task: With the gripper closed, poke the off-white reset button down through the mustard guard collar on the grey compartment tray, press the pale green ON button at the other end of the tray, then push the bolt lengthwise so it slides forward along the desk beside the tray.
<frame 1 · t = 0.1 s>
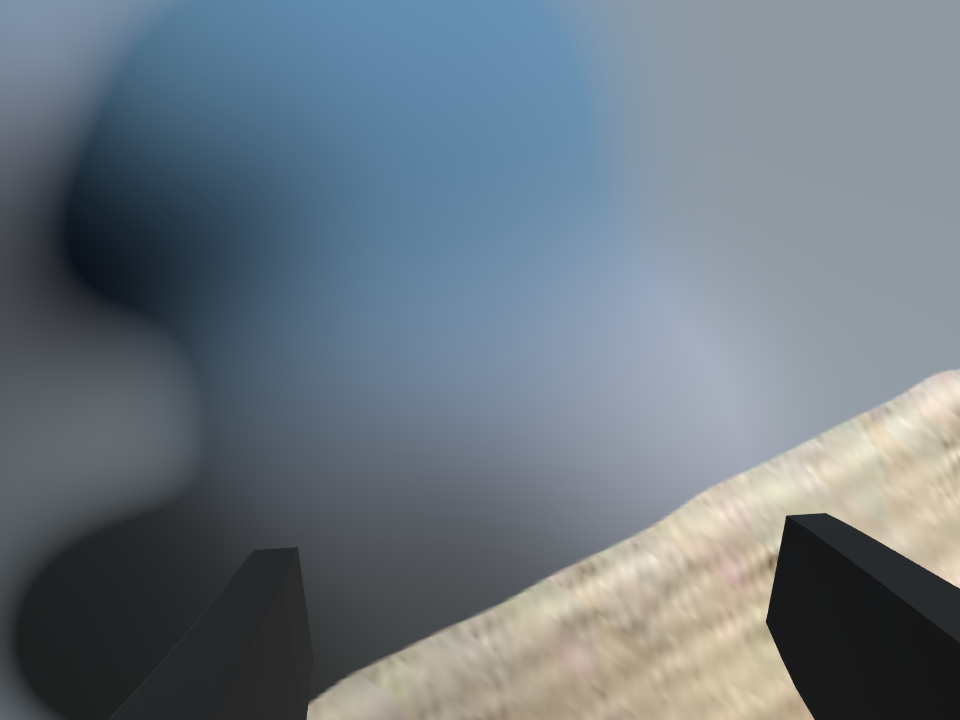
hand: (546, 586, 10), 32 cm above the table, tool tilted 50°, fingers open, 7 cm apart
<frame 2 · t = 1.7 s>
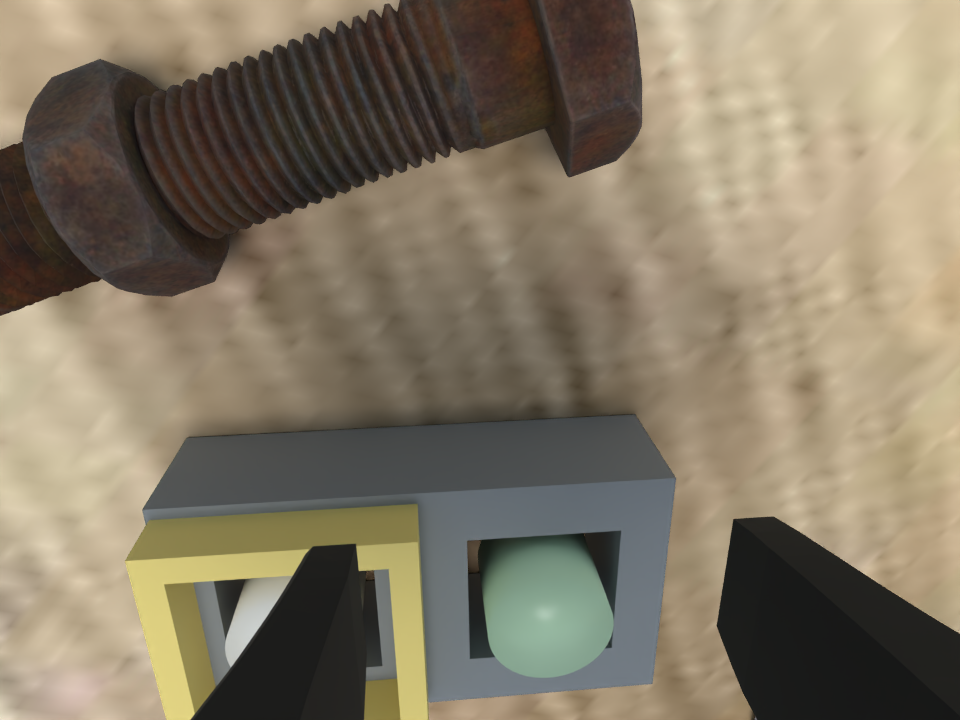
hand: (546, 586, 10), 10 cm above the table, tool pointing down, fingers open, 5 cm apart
bolt: (284, 124, 17), on the table
on button: (541, 589, 19), point 3 cm above the table, slide at 0.0 cm
reset button: (301, 606, 18), point 3 cm above the table, slide at 0.0 cm
grey compartment tray: (421, 525, 21), on the table
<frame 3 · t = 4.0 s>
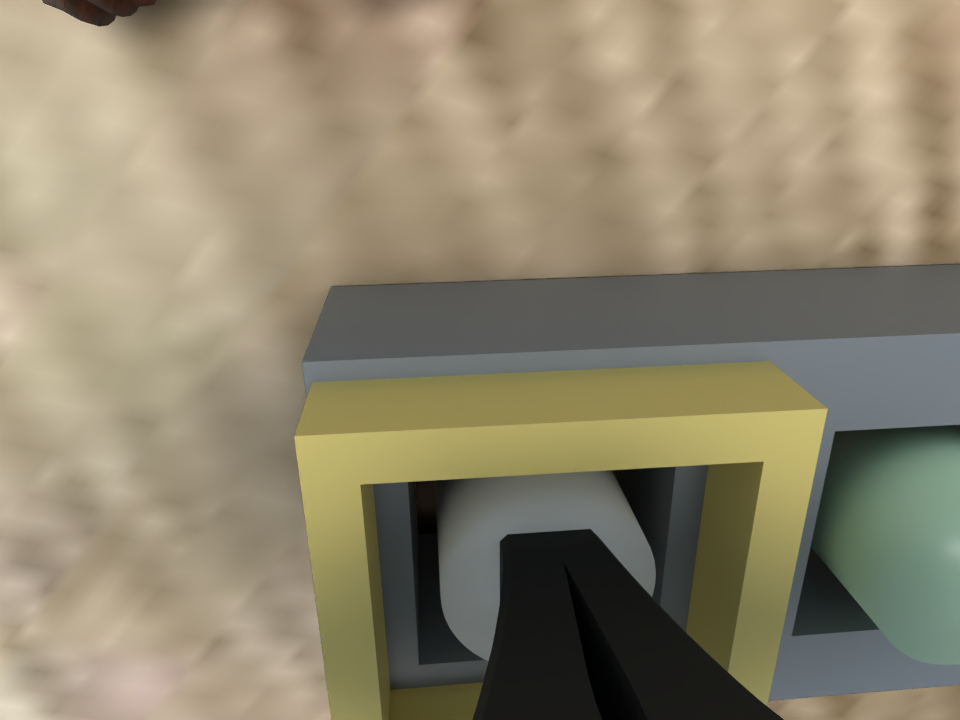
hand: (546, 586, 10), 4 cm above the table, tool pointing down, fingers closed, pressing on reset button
on button: (917, 522, 12), point 3 cm above the table, slide at 0.0 cm
reset button: (533, 527, 12), point 3 cm above the table, slide at 0.5 cm, touching gripper
grey compartment tray: (666, 438, 14), on the table
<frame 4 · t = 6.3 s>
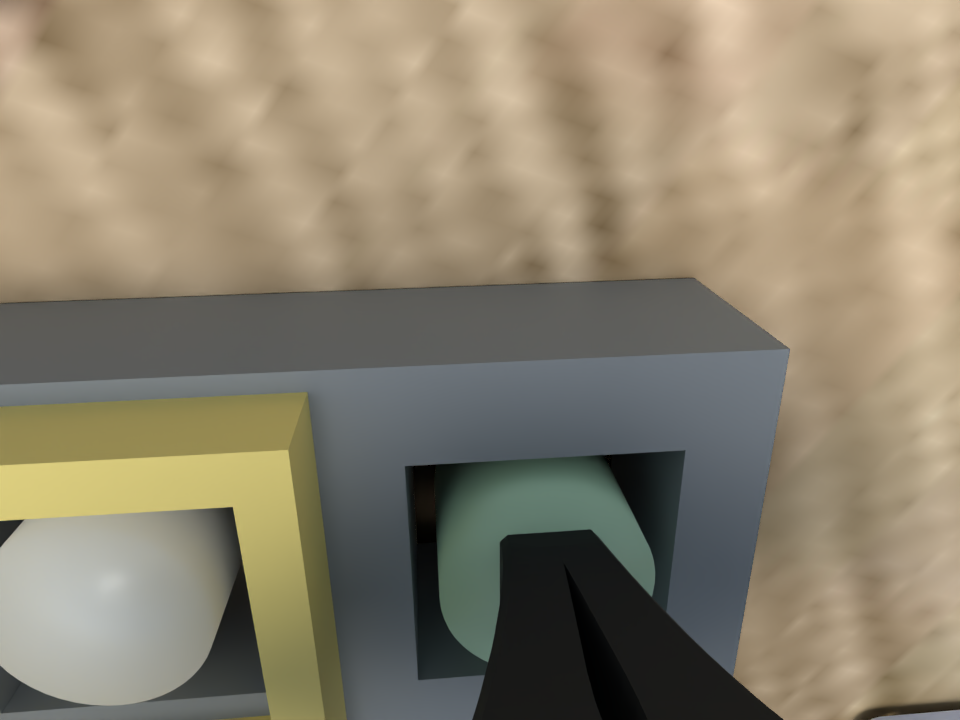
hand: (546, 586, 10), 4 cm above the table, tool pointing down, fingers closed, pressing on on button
on button: (532, 527, 12), point 2 cm above the table, slide at 0.8 cm, touching gripper
reset button: (135, 553, 11), point 2 cm above the table, slide at 0.8 cm
grey compartment tray: (350, 463, 13), on the table
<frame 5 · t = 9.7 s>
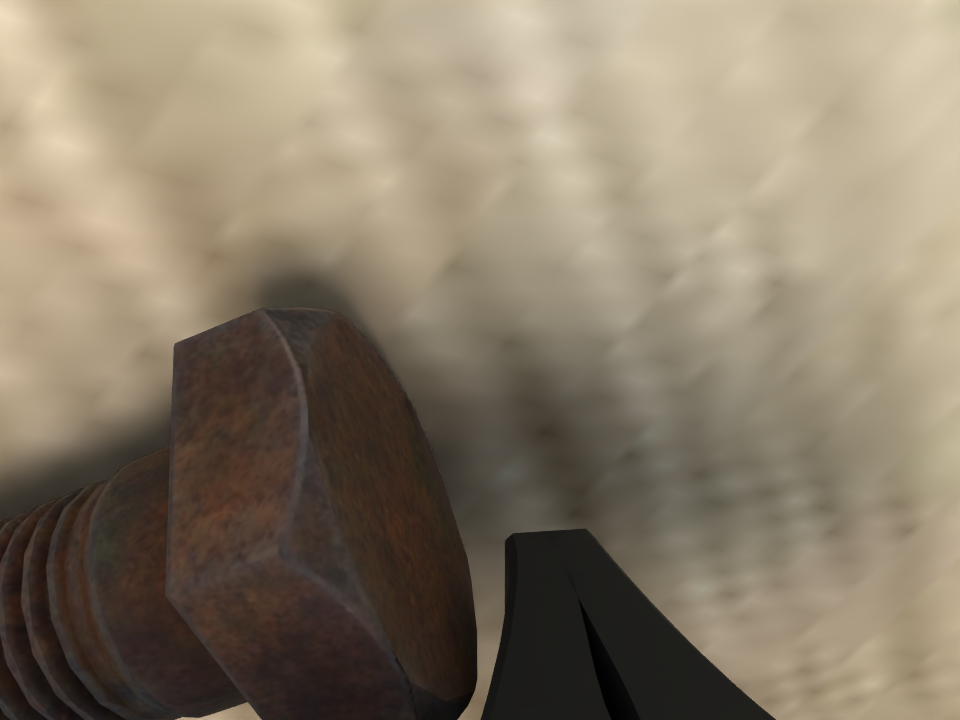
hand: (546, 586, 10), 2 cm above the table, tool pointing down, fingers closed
bolt: (2, 558, 12), on the table, touching gripper
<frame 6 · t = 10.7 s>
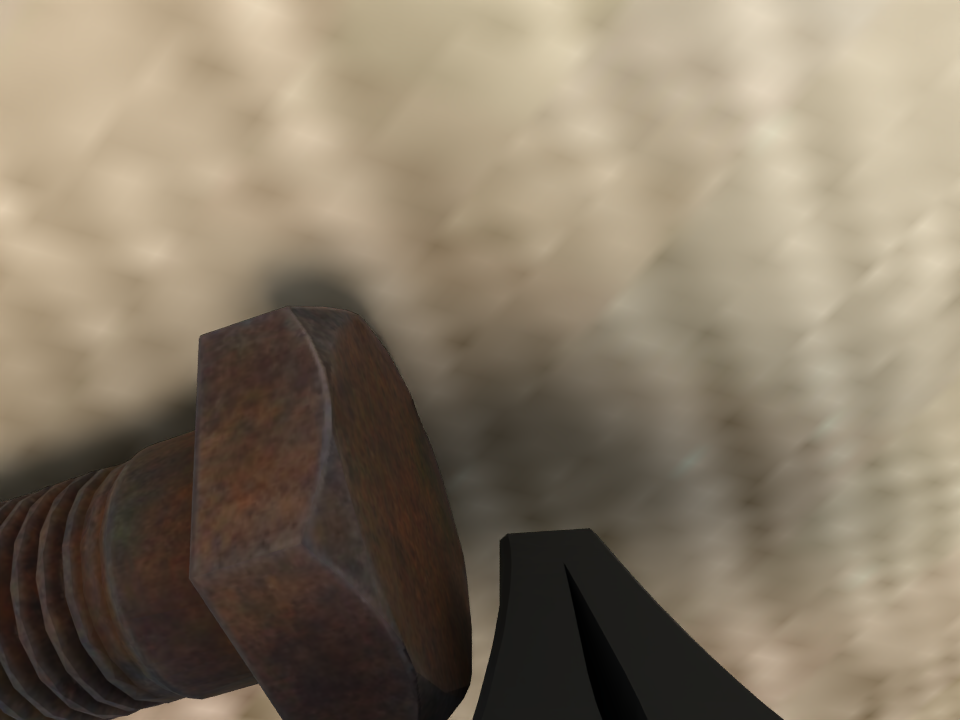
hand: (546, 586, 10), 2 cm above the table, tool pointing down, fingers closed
bolt: (2, 535, 12), on the table
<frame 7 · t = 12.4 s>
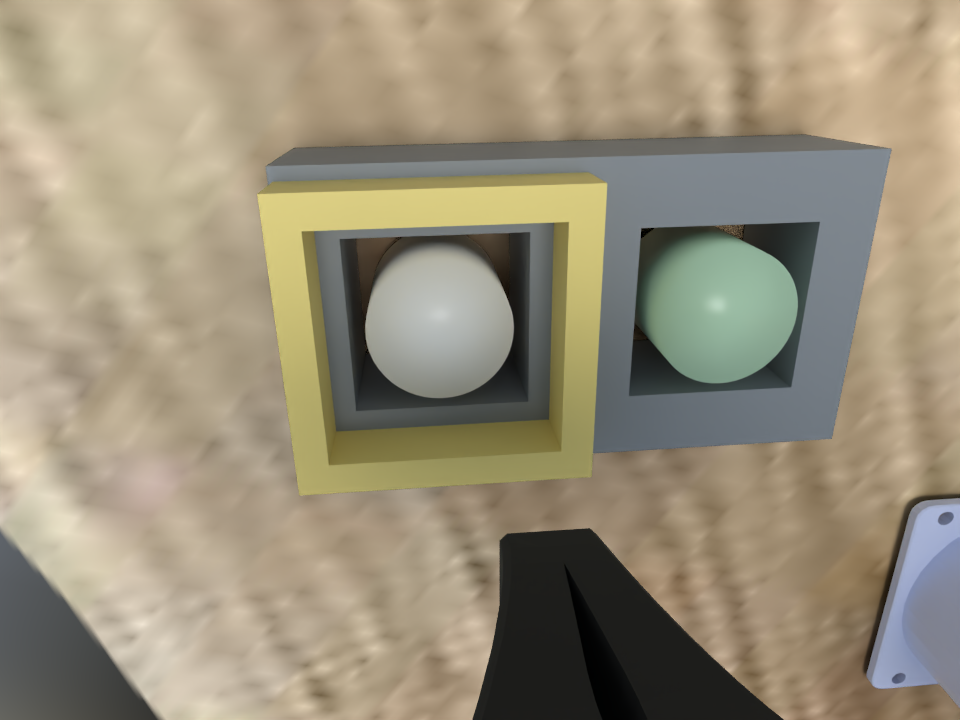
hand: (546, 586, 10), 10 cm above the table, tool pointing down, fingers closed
on button: (701, 297, 17), point 2 cm above the table, slide at 0.8 cm
reset button: (438, 309, 16), point 2 cm above the table, slide at 0.8 cm
grey compartment tray: (553, 276, 19), on the table
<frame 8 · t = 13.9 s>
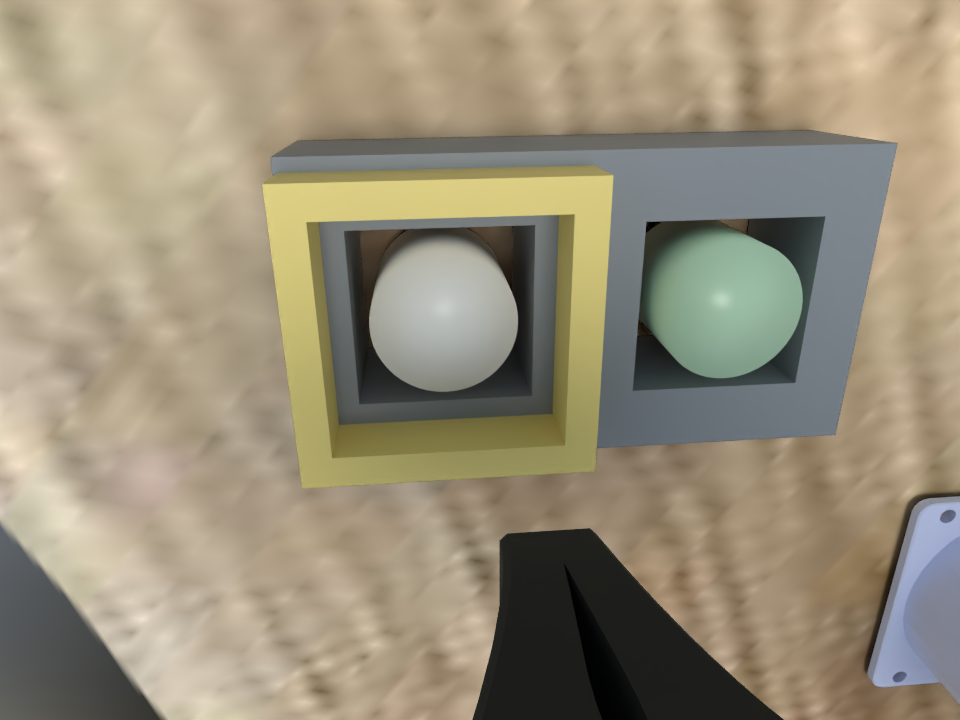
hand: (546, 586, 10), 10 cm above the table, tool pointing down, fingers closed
on button: (706, 292, 17), point 2 cm above the table, slide at 0.8 cm
reset button: (441, 302, 16), point 2 cm above the table, slide at 0.8 cm
grey compartment tray: (556, 270, 19), on the table
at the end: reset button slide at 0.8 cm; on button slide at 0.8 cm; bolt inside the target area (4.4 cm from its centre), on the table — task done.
